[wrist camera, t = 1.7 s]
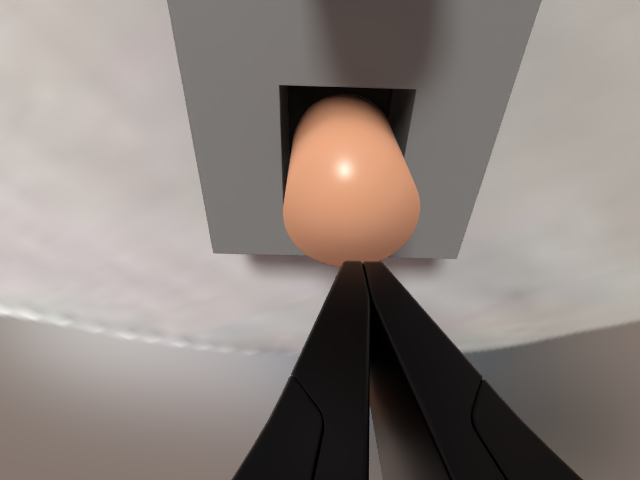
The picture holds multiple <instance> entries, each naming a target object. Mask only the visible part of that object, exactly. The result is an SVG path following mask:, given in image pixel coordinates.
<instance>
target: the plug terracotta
mask: <svg viewBox="0 0 640 480" xmlns="http://www.w3.org/2000/svg"><path fill="white" fill-rule="evenodd" d="M419 214H420V199H419V194H418V191H417V188H416V185H415V183H414V181H413V178H412V176H411V174H410V171H409V169H408V167H407V164H406V162H405V159H404V157H403V155H402V152H401V150H400V148H399V145H398V143H397V141H396V138H395V136H394V134H393V131H392V129H391V127H390V124H389V122H388V120H387V118H386V116H385V115H384V113H383V112H382V110H381V109H380V108H379V107H378V106H377V105H375V104H374V103H373V102H371V101H370V100H368V99H366V98H364V97H361V96H358V95H354V94H335V95H330V96H327V97H324V98H322V99H320V100H318V101H317V102H315V103H314V104H312V105H311V106H310V107H309V108H308V109H307V110H306V111H305V112H304V113H303V115H302V116H301V118H300V119H299V121H298V123H297V125H296V128H295V131H294V137H293V143H292V150H291V157H290V164H289V170H288V177H287V184H286V191H285V198H284V205H283V219H284V224H285V228H286V230H287V233H288V235H289V237H290V238H291V240H292V241H293V243H294V244H295V245H296V246H297V247H298V248H299V249H300V250H301V251H302V252H303V253H305V254H306V255H307V256H309V257H311V258H313V259H314V260H316V261H319V262H321V263H324V264H328V265H332V266H337V267H341V266H342V263H343V262H344V261H346V260H348V261H361V262H362V263H363V262H364V261H380V260H383V259H385V258H387V257H388V256H390V255H392V254H393V253H395V252H396V251H397V250H399V249H400V248H401V247H402V246H403V245H404V244H405V243H406V242H407V240H408V239H409V238H410V236H411V235H412V233H413V232H414V230H415V228H416V225H417V222H418V219H419Z"/></svg>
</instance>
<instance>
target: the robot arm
mask: <svg viewBox="0 0 640 480" xmlns="http://www.w3.org/2000/svg"><path fill="white" fill-rule="evenodd" d="M369 406H370V407H371V413H372V419H373V425H374V431H375V436H376V442H377V447H378V453H379V459H380V464H381V470H382V476H383V480H583V479H581V478H580V477H579V476H578V475H577V474H576V473H575V472H574V471H573V470H572V469H571V468H570V467H569V466H568V465H567V464H566V463H565V462H564V461H563V460H562V459H561V458H560V457H559V456H557V455H556V454H555V453H554V452H553V451H552V450H551V449H550V448H549V447H548V446H547V445H546V444H545V443H544V442H543V441H542V440H541V439H540V438H539V437H538V436H537V435H536V434H535V433H534V432H533V431H532V430H531V429H530V428H529V427H528V426H527V425H526V424H525V423H524V422H523V421H522V419H520V417H519V416H518V415H517V414H516V413H515V412H514V411H513V410H512V409H511V407H510V406H509V405H508V404H507V403H506V402H505V401H504V400H503V399H502V398H501V397H500V396H499V395H498V393H497V392H496V391H495V390H494V389H493V388H492V386H491V385H490V384H489V383H488V382H487V381H486V380H485V379H484V380H482V375H481V374H480V373H479V372H478V371H477V370H476V368H475V367H474V366H473V365H472V364H471V363H470V362H469V361H468V359H467V358H466V357H465V356H464V355H463V354H462V353H461V351H460V350H459V349H458V348H457V347H456V346H455V345H454V343H453V342H452V341H451V340H450V339H449V338H448V337H447V335H446V334H445V333H444V332H443V331H442V330H441V329H440V327H439V326H438V325H437V324H436V323H435V322H434V321H433V320H432V318H431V317H430V316H429V315H428V314H427V313H426V312H425V310H424V309H423V308H422V307H421V306H420V305H419V304H418V302H417V301H416V300H415V299H414V298H413V297H412V296H411V294H410V293H409V292H408V291H407V290H406V289H405V288H404V287H403V285H402V284H401V283H400V282H399V281H398V280H397V279H396V277H395V276H394V275H393V274H392V273H391V272H390V271H389V269H388V268H387V267H386V266H385V265H384V264H383V263H382V262H380V261H364V262H363V263H362V262H361V261H348V260H346V261H344V262H343V263H342V266H341V268H340V270H339V272H338V274H337V276H336V278H335V281H334V283H333V285H332V287H331V289H330V291H329V293H328V296H327V298H326V300H325V302H324V304H323V306H322V309H321V311H320V313H319V315H318V317H317V319H316V321H315V324H314V326H313V328H312V330H311V332H310V334H309V337H308V339H307V341H306V343H305V345H304V347H303V349H302V352H301V354H300V356H299V358H298V360H297V363H296V365H295V367H294V369H293V371H292V373H291V376H290V377H289V379H288V381H287V384H286V385H285V388H284V390H283V392H282V394H281V396H280V398H279V400H278V402H277V404H276V406H275V408H274V410H273V412H272V414H271V416H270V417H269V419H268V421H267V423H266V424H265V426H264V428H263V430H262V431H261V433H260V435H259V437H258V438H257V440H256V441H255V443H254V445H253V447H252V448H251V450H250V451H249V453H248V455H247V456H246V458H245V459H244V461H243V462H242V464H241V466H240V467H239V469H238V470H237V472H236V473H235V475H234V476H233V478H232V480H369Z"/></svg>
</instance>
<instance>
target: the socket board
mask: <svg viewBox="0 0 640 480" xmlns="http://www.w3.org/2000/svg"><path fill="white" fill-rule="evenodd" d="M167 2H168V8H169V13H170V19H171V24H172V30H173V35H174V41H175V46H176V52H177V57H178V62H179V68H180V73H181V79H182V84H183V90H184V95H185V101H186V106H187V112H188V117H189V123H190V128H191V134H192V139H193V145H194V150H195V156H196V161H197V166H198V172H199V177H200V183H201V188H202V194H203V199H204V205H205V210H206V216H207V221H208V227H209V232H210V238H211V243H212V249H213V253H222V254H265V255H306V254H305V253H303V252H302V251H301V250H300V249H299V248H298V247H297V246H296V245H295V244H294V243H293V241H292V240H291V238H290V237H289V235H288V233H287V230H286V228H285V224H284V219H283V205H284V198H285V191H286V184H287V177H288V170H289V164H290V161H289V119H288V85H295V86H327V87H358V88H390V89H393V93H392V100H391V107H390V114H389V121H388V122H389V124H390V127H391V129H392V131H393V134H394V136H395V138H396V141H397V143H398V145H399V148H400V150H401V152H402V155H403V157H404V159H405V162H406V164H407V167H408V169H409V171H410V174H411V176H412V178H413V181H414V183H415V185H416V188H417V191H418V194H419V199H420V214H419V219H418V222H417V225H416V228H415V230H414V232H413V233H412V235H411V236H410V238H409V239H408V240H407V242H406V243H405V244H404V245H403V246H402V247H401V248H400V249H399V250H397V251H396V252H395V253H393V254H392V255H390V256H388V257H396V258H440V259H457V256H458V253H459V250H460V247H461V244H462V241H463V238H464V235H465V232H466V229H467V226H468V223H469V219H470V216H471V213H472V210H473V207H474V204H475V201H476V198H477V195H478V192H479V189H480V186H481V183H482V180H483V177H484V174H485V171H486V168H487V165H488V161H489V158H490V155H491V152H492V149H493V146H494V143H495V140H496V137H497V134H498V131H499V128H500V125H501V122H502V119H503V116H504V113H505V110H506V107H507V103H508V100H509V97H510V94H511V91H512V88H513V85H514V82H515V79H516V76H517V73H518V70H519V67H520V64H521V61H522V58H523V55H524V52H525V48H526V45H527V42H528V39H529V36H530V33H531V30H532V27H533V24H534V21H535V18H536V15H537V12H538V9H539V6H540V3H541V0H167Z"/></svg>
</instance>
